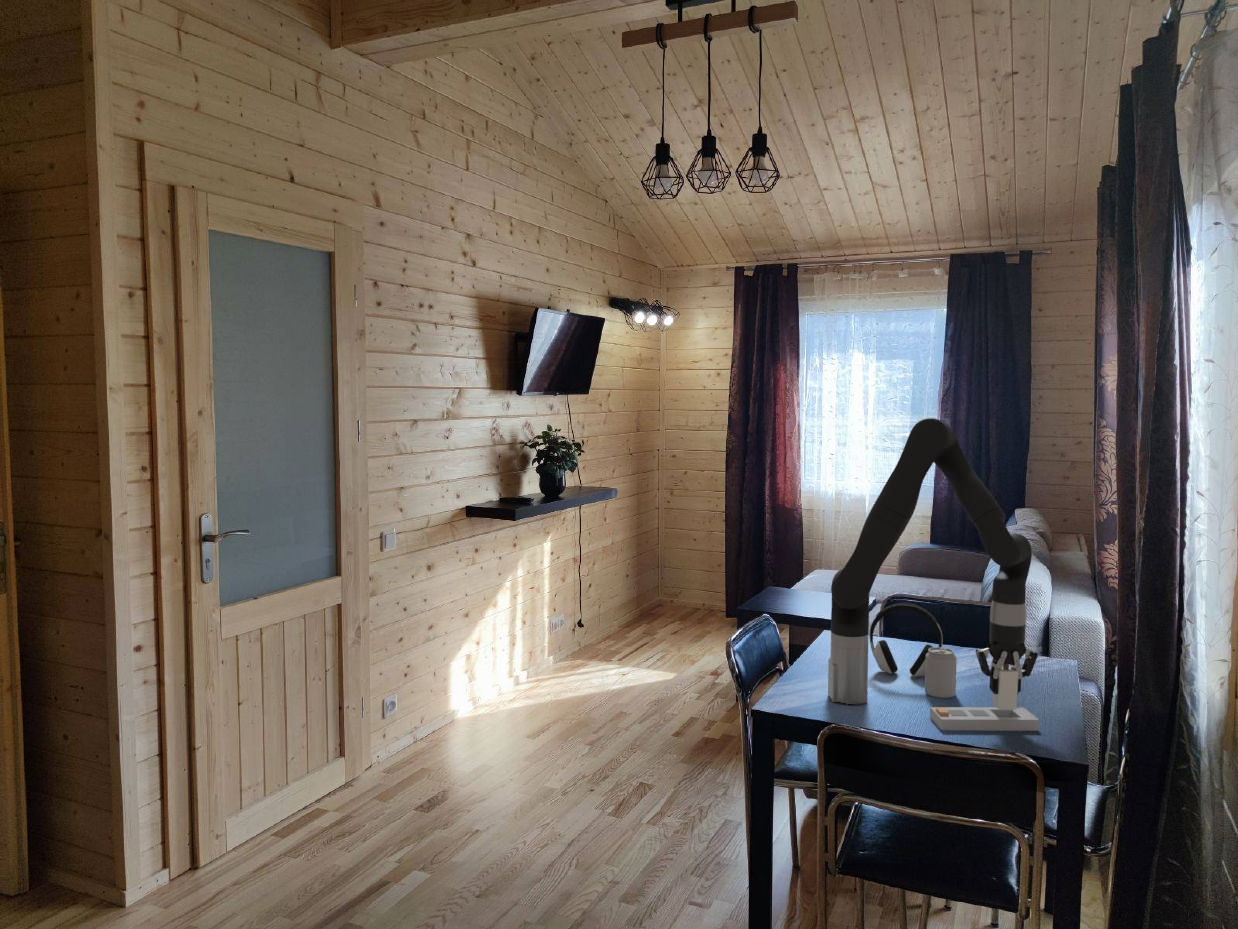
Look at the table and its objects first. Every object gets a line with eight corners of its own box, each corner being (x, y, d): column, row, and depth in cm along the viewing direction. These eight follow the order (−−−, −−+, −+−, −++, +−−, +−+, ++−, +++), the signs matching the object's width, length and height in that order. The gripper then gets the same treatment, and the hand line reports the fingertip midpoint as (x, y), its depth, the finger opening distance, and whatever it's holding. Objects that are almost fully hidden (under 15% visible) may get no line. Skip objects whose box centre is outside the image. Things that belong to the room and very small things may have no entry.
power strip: (941, 732, 205) (941, 716, 205) (929, 719, 213) (930, 704, 213) (1038, 732, 205) (1038, 716, 204) (1023, 720, 213) (1024, 704, 212)
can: (919, 695, 230) (920, 649, 229) (933, 688, 235) (934, 644, 234) (947, 702, 225) (948, 655, 224) (960, 695, 230) (962, 649, 229)
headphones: (866, 675, 247) (868, 603, 245) (870, 666, 254) (871, 597, 253) (941, 683, 239) (942, 609, 238) (942, 674, 247) (944, 603, 246)
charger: (999, 709, 206) (1000, 662, 206) (992, 703, 210) (994, 657, 209) (1016, 710, 206) (1018, 663, 205) (1009, 704, 210) (1011, 657, 209)
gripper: (982, 624, 203) (980, 698, 205) (1046, 625, 203) (1043, 699, 204) (970, 616, 211) (968, 687, 212) (1032, 616, 210) (1029, 688, 212)
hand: (1005, 693), depth 208 cm, fingers closed on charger, 4 cm apart
